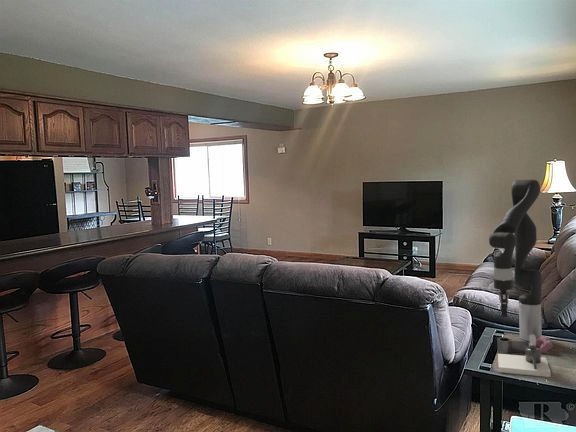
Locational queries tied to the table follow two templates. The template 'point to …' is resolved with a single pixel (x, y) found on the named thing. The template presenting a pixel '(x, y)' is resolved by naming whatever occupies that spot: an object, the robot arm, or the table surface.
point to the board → (522, 365)
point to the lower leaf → (533, 352)
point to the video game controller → (544, 343)
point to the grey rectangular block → (511, 346)
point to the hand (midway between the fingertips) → (503, 314)
